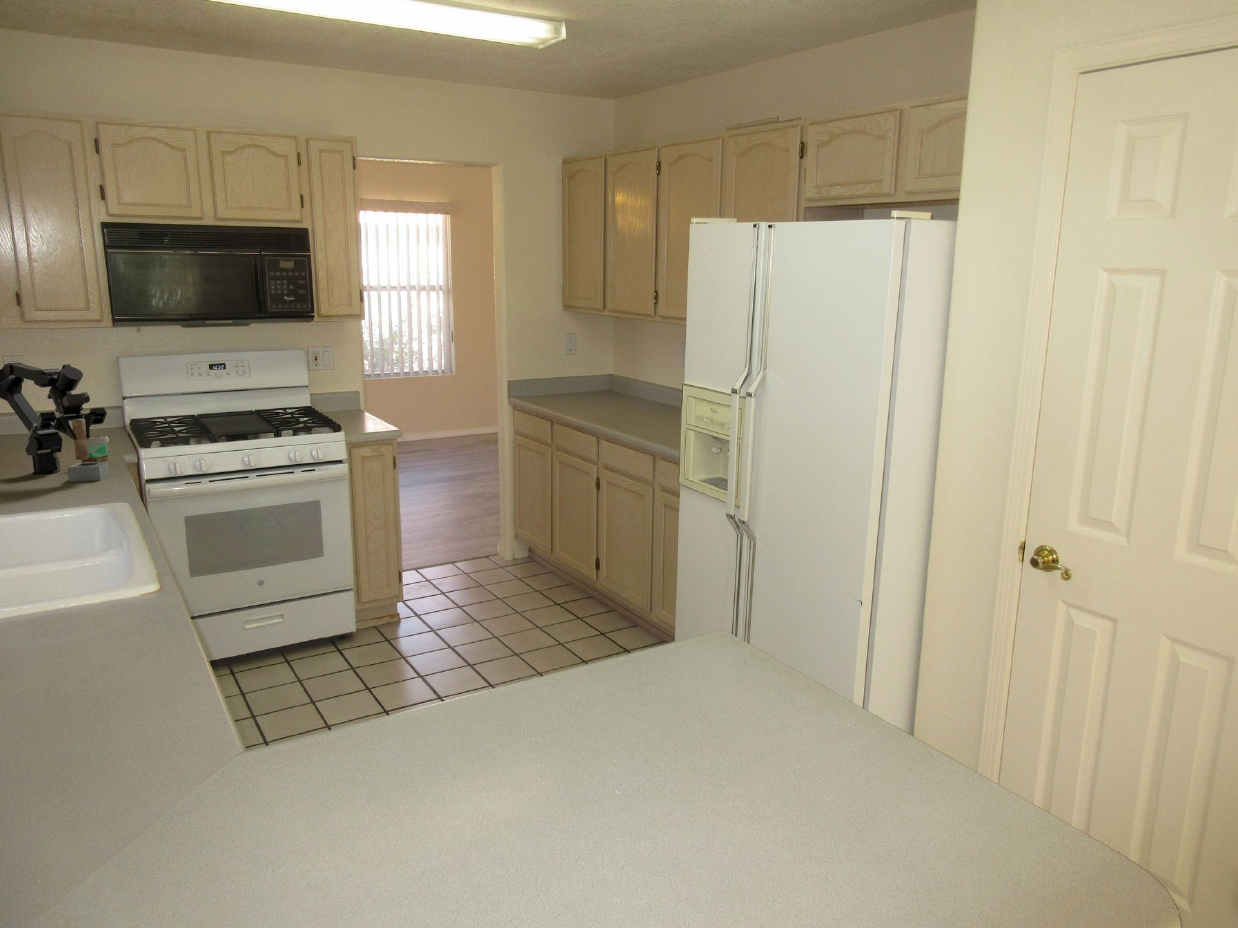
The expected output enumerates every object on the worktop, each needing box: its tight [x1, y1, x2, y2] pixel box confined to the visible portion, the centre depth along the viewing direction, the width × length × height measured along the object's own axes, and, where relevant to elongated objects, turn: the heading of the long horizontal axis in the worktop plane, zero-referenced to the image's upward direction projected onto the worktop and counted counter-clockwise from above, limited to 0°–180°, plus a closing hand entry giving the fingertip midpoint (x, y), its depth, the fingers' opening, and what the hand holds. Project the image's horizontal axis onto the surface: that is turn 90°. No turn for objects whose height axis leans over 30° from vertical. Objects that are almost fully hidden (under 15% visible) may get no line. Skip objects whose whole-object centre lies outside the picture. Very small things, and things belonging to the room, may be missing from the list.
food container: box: [81, 434, 110, 462], centre depth 301 cm, size 12×6×10 cm, turn 179°
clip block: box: [66, 461, 111, 483], centre depth 279 cm, size 9×9×4 cm
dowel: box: [71, 419, 89, 461], centre depth 275 cm, size 4×4×12 cm
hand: (82, 438), depth 274 cm, fingers closed on dowel, 3 cm apart
